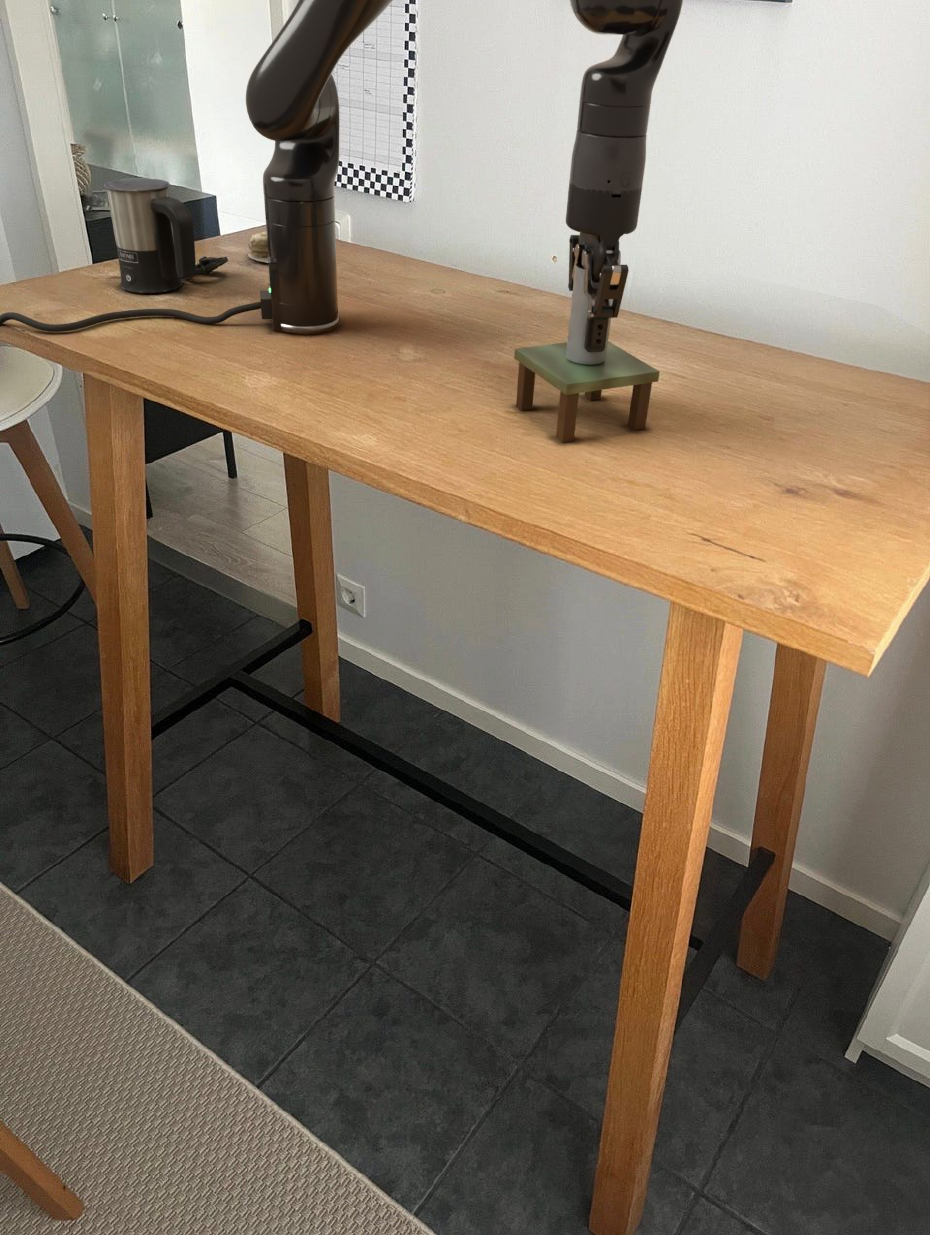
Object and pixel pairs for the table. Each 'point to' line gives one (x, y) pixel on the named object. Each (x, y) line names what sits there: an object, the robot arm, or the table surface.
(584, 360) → the grey hollow tube
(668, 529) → the table surface
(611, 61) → the robot arm
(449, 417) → the table surface
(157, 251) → the milk frother
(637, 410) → the plant stand
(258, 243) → the cake
